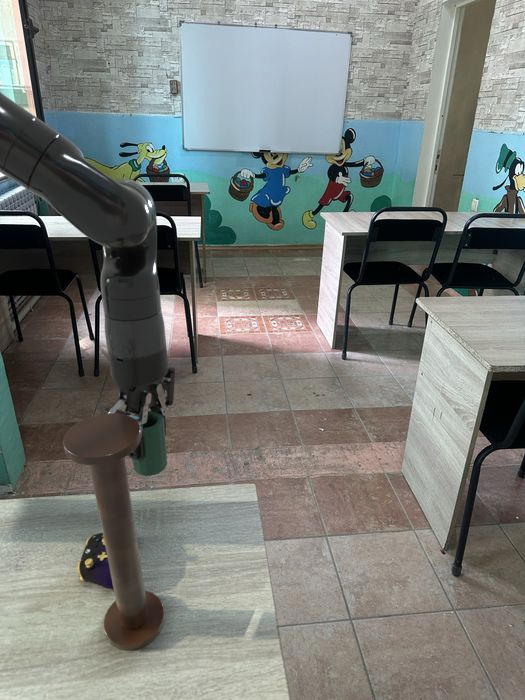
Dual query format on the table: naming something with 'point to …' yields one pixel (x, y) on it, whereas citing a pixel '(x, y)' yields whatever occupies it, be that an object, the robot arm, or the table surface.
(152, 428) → the jar
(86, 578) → the gaming controller
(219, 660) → the table surface
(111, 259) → the robot arm
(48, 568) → the table surface
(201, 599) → the table surface
